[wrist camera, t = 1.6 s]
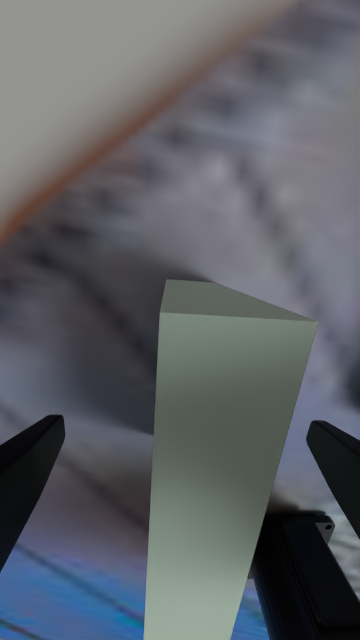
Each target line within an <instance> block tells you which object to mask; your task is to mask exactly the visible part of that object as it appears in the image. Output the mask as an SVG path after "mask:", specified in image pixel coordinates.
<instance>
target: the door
mask: <svg viewBox="0 0 360 640" xmlns="http://www.w3.org/2000/svg"><path fill="white" fill-rule="evenodd" d="M317 326H318V322H317V321H315V320H312V319H310V318H307V317H304V316H302V315H299V314H296V313H294V312H291V311H288V310H286V309H283V308H281V307H278V306H275V305H273V304H270V303H267V302H265V301H262V300H259V299H257V298H254V297H252V296H249V295H246V294H244V293H241V292H238V291H236V290H233V289H231V288H228V287H225V286H223V285H220V284H217V283H214V282H201V281H187V280H174V279H166V283H165V288H164V293H163V298H162V304H161V309H160V318H159V338H158V359H157V379H156V400H155V420H154V440H153V461H152V481H151V502H150V522H149V542H148V563H147V583H146V604H145V624H144V640H230V638H231V634H232V630H233V627H234V623H235V620H236V616H237V613H238V609H239V605H240V602H241V598H242V595H243V591H244V587H245V584H246V580H247V577H248V573H249V570H250V566H251V562H252V559H253V555H254V552H255V548H256V544H257V541H258V537H259V534H260V530H261V526H262V523H263V519H264V516H265V512H266V509H267V505H268V501H269V498H270V494H271V491H272V487H273V483H274V480H275V476H276V473H277V469H278V466H279V462H280V458H281V455H282V451H283V448H284V444H285V440H286V437H287V433H288V430H289V426H290V422H291V419H292V415H293V412H294V408H295V405H296V401H297V397H298V394H299V390H300V387H301V383H302V379H303V376H304V372H305V369H306V365H307V362H308V358H309V354H310V351H311V347H312V344H313V340H314V336H315V333H316V329H317Z"/></svg>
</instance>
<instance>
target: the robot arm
mask: <svg viewBox="0 0 360 640" xmlns="http://www.w3.org/2000/svg"><path fill="white" fill-rule="evenodd" d="M64 439H65V426H64V418H63V416H62V415H53V414H51V415H48V416H46V417H45V418H43V419H41V420H40V421H38V422H37V423H35V424H33V425H32V426H30V427H29V428H27V429H25V430H24V431H22V432H21V433H19V434H17V435H16V436H14V437H13V438H11V439H9V440H8V441H6V442H5V443H3V444H1V445H0V572H1V570H2V568H3V566H4V564H5V563H6V561H7V559H8V557H9V555H10V553H11V551H12V549H13V547H14V545H15V544H16V542H17V540H18V538H19V536H20V534H21V532H22V530H23V528H24V526H25V525H26V523H27V521H28V519H29V517H30V515H31V513H32V511H33V509H34V507H35V506H36V504H37V502H38V500H39V498H40V496H41V493H42V491H43V489H44V487H45V484H46V482H47V480H48V477H49V475H50V473H51V470H52V468H53V466H54V463H55V461H56V459H57V456H58V454H59V452H60V449H61V447H62V444H63V442H64ZM306 441H307V444H308V447H309V449H310V451H311V452H312V454H313V456H314V458H315V460H316V462H317V464H318V466H319V468H320V470H321V472H322V474H323V476H324V478H325V480H326V482H327V484H328V486H329V488H330V490H331V492H332V494H333V495H334V497H335V499H336V500H337V502H338V504H339V506H340V507H341V509H342V511H343V512H344V514H345V516H346V517H347V519H348V521H349V522H350V524H351V526H352V527H353V529H354V531H355V532H356V534H357V536H358V537H359V539H360V440H358V439H356V438H354V437H353V436H351V435H349V434H347V433H345V432H344V431H342V430H340V429H338V428H337V427H335V426H333V425H331V424H330V423H328V422H326V421H323V420H314V421H312V422H311V424H310V427H309V430H308V433H307V437H306ZM334 528H335V524H334V522H333V521H332V519H331V518H330V517H329V516H280V517H264V519H263V523H262V526H261V530H260V534H259V537H258V541H257V544H256V548H255V552H254V555H253V559H252V562H251V566H250V570H249V573H248V577H247V579H254V583H255V587H256V590H257V594H258V598H259V601H260V605H261V609H262V613H263V616H264V620H265V624H266V627H267V631H268V635H269V639H270V640H360V601H359V599H358V597H357V595H356V594H355V592H354V590H353V588H352V586H351V585H350V583H349V581H348V579H347V578H346V576H345V574H344V572H343V571H342V569H341V567H340V565H339V564H338V562H337V560H336V558H335V557H334V555H333V553H332V551H331V549H330V548H329V546H328V542H329V540H330V537H331V535H332V533H333V530H334Z"/></svg>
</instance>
